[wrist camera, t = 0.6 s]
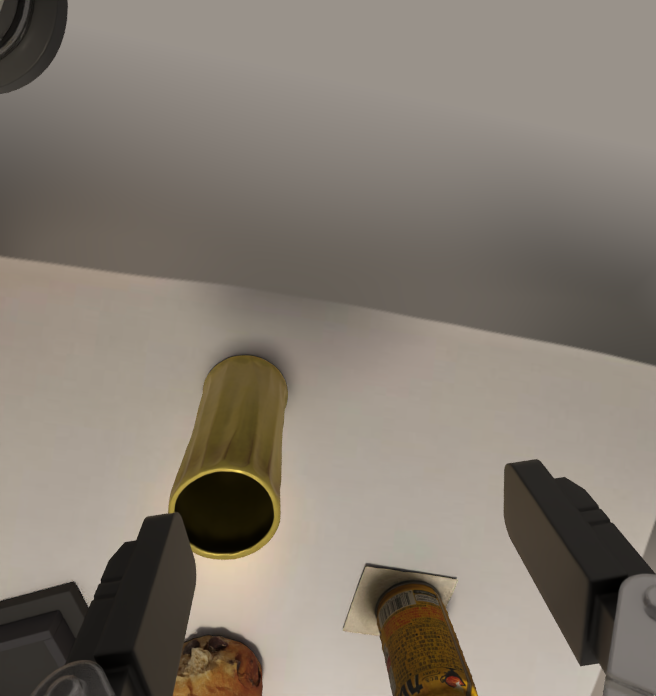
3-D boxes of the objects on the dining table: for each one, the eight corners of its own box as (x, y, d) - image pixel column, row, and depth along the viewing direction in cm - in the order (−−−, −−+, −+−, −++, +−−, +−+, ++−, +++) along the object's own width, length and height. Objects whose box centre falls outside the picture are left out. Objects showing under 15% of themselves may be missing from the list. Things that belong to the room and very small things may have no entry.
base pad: (-70, 619, 41) (-96, 652, 38) (74, 581, 41) (59, 611, 38) (-2, 719, 45) (-21, 756, 42) (129, 684, 45) (118, 718, 42)
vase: (186, 399, 37) (130, 526, 23) (238, 337, 36) (211, 433, 22) (253, 445, 38) (236, 589, 25) (304, 387, 37) (316, 505, 24)
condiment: (431, 640, 46) (479, 790, 35) (342, 629, 45) (363, 781, 34) (457, 577, 44) (518, 715, 33) (365, 563, 43) (395, 701, 32)
